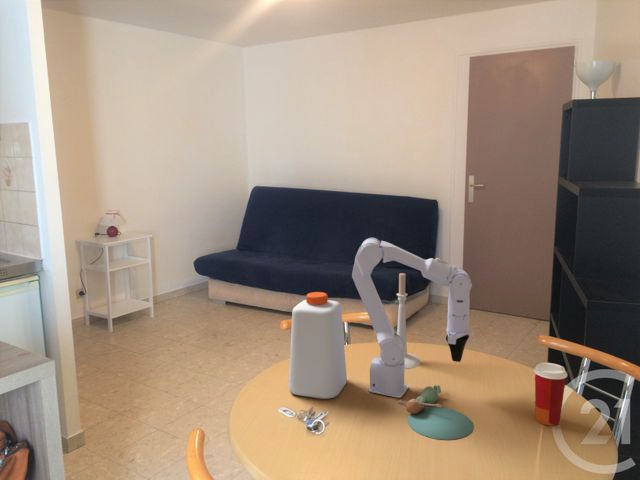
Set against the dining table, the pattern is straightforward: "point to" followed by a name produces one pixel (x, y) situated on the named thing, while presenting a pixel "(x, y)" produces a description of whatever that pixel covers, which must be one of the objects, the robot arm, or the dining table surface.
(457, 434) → the mat
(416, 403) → the toy
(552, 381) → the paper cup
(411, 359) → the candlestick
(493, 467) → the dining table surface
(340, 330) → the plastic bottle
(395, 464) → the dining table surface
